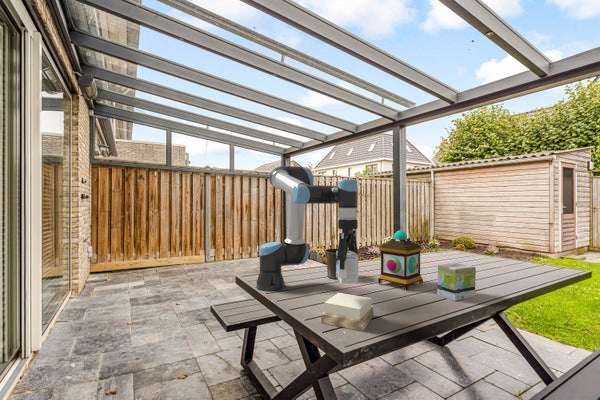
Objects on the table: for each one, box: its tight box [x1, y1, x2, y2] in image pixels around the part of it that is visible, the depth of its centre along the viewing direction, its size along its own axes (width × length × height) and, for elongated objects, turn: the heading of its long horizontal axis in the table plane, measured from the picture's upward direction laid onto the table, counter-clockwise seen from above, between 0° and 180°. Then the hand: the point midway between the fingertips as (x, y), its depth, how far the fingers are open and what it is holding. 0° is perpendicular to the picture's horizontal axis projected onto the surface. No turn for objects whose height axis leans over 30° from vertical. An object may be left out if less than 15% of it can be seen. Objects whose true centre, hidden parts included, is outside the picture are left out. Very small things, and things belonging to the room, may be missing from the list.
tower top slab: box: [323, 292, 372, 320], centre depth 117 cm, size 14×14×4 cm
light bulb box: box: [336, 251, 359, 285], centre depth 117 cm, size 11×7×11 cm, turn 4°
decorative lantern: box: [377, 230, 424, 292], centre depth 165 cm, size 20×20×30 cm
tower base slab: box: [320, 306, 374, 332], centre depth 117 cm, size 16×16×4 cm
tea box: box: [436, 263, 477, 302], centre depth 145 cm, size 15×10×15 cm, turn 117°
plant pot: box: [324, 248, 349, 281], centre depth 181 cm, size 16×16×16 cm
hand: (347, 274), depth 117 cm, fingers closed on light bulb box, 12 cm apart
